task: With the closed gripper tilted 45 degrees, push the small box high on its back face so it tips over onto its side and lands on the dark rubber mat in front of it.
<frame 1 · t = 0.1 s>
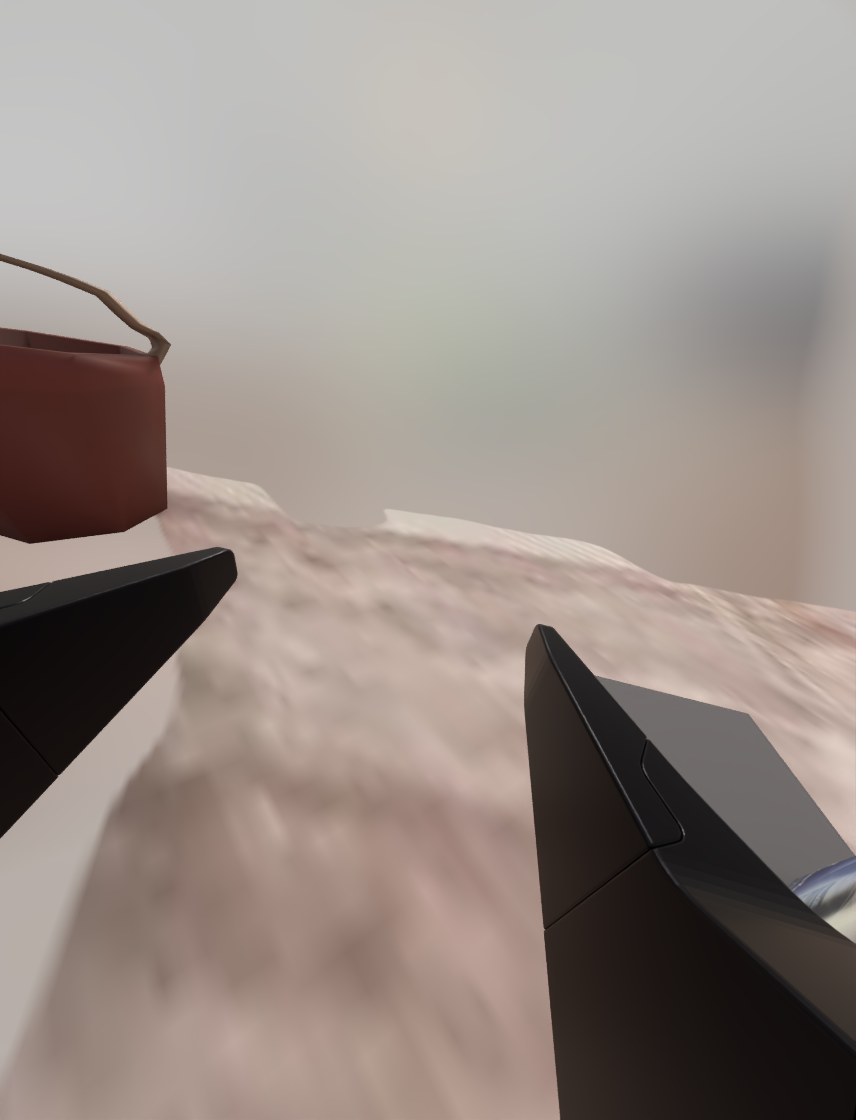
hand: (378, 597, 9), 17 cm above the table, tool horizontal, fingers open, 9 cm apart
bucket: (83, 513, 41), on the table
dark rubber mat: (692, 765, 24), on the table
small box: (817, 1012, 15), on the table, touching dark rubber mat
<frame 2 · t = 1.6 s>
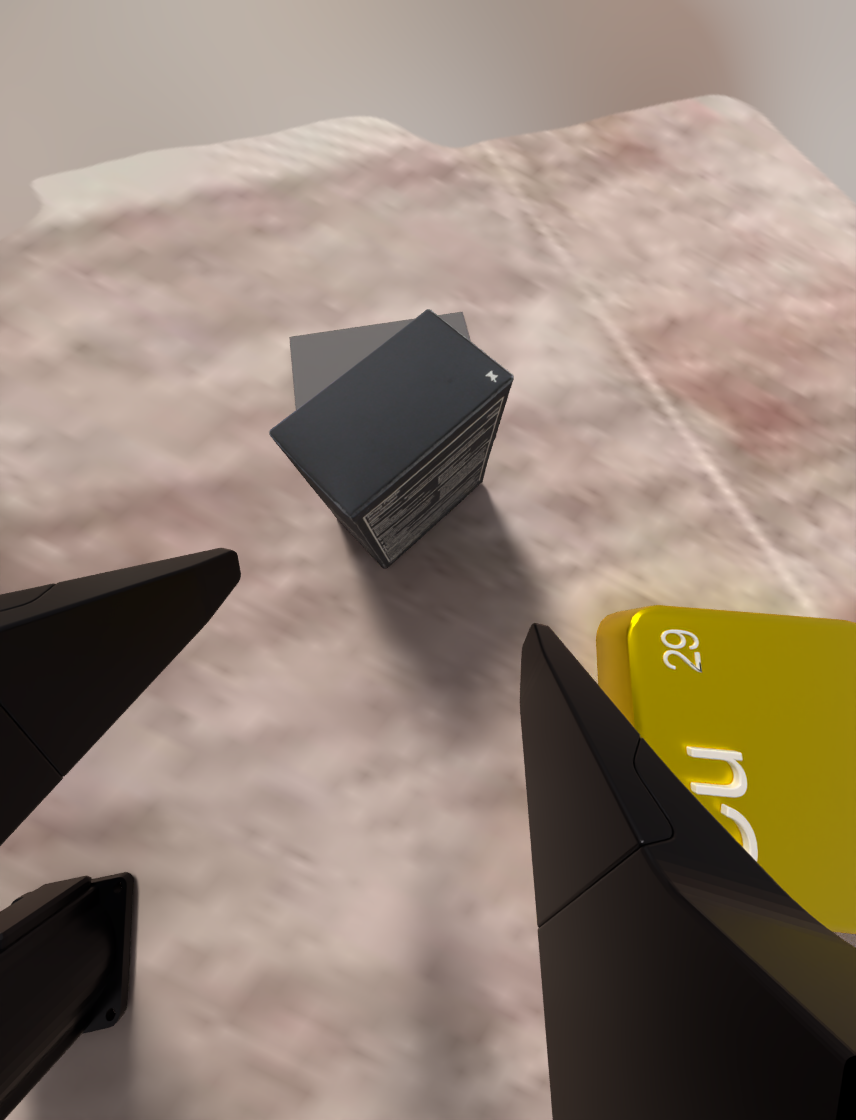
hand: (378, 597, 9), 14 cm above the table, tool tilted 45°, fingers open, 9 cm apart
dark rubber mat: (387, 384, 28), on the table
element tile: (709, 732, 21), on the table
small box: (408, 497, 25), on the table, touching dark rubber mat
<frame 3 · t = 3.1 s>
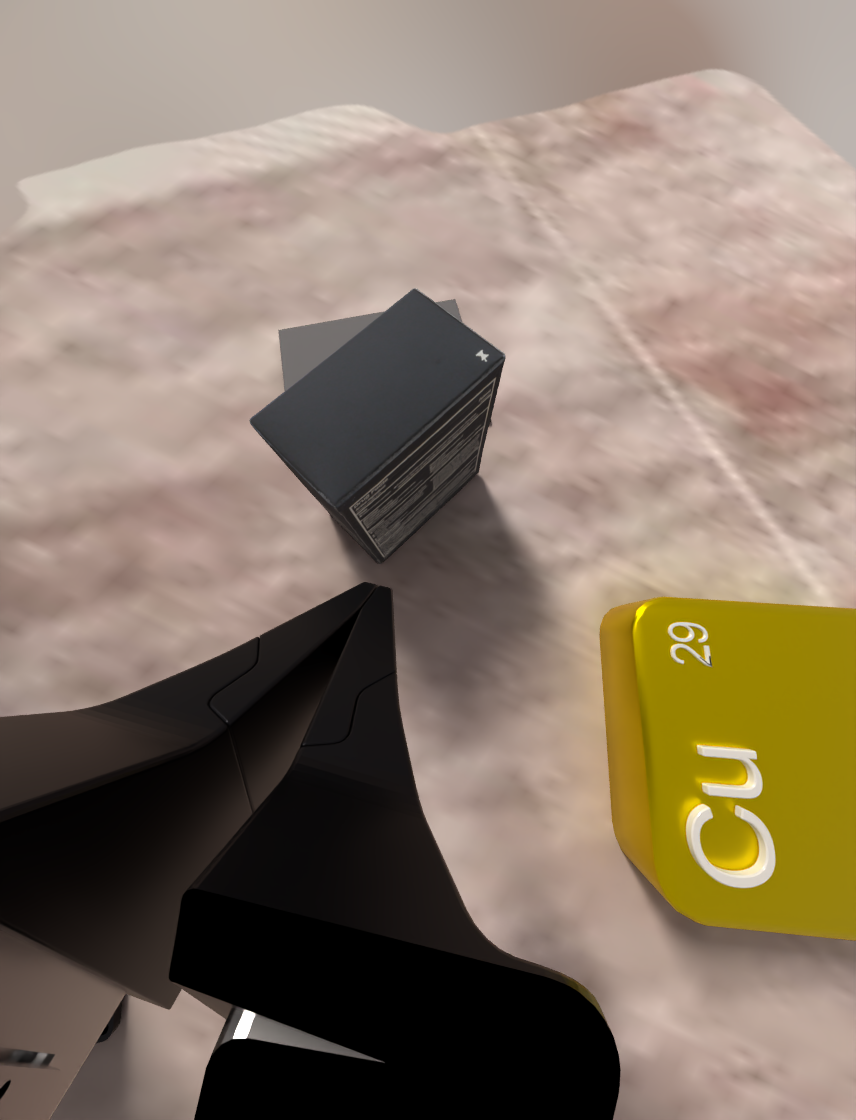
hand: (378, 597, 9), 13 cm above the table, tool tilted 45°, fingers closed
dark rubber mat: (379, 375, 27), on the table
element tile: (720, 729, 20), on the table
small box: (402, 490, 24), on the table, touching dark rubber mat
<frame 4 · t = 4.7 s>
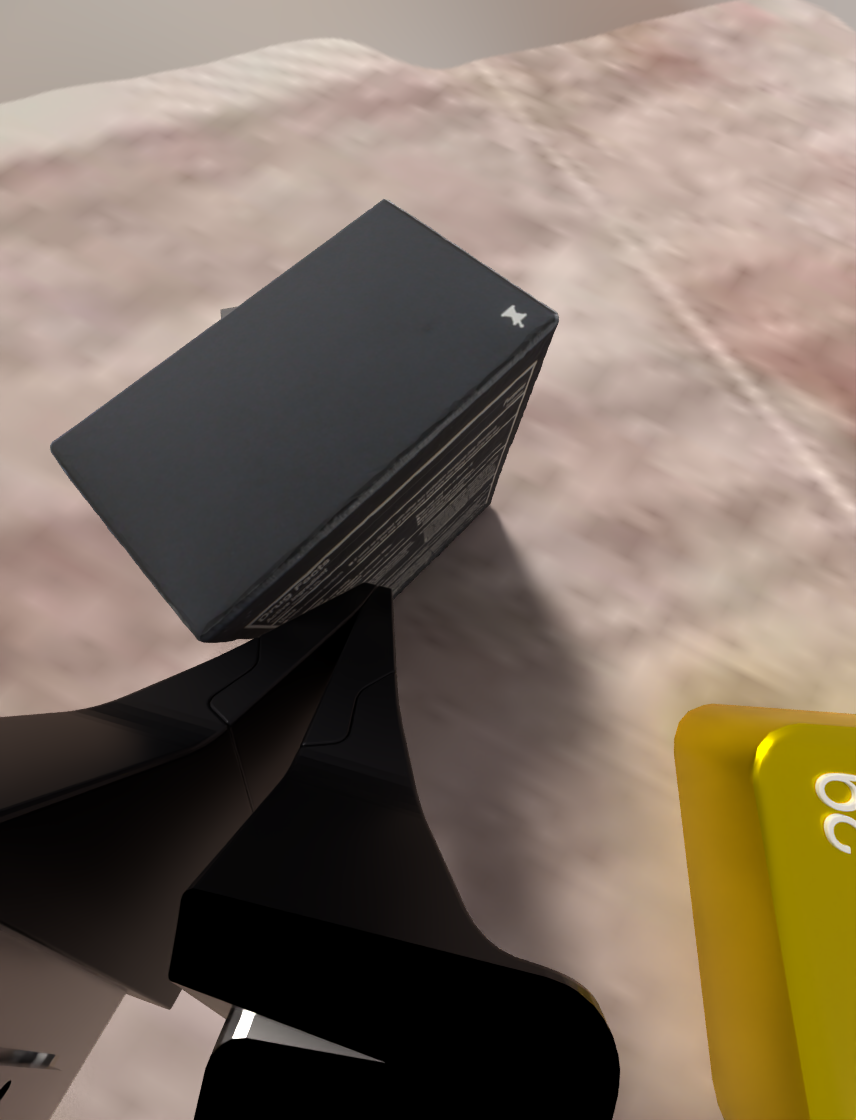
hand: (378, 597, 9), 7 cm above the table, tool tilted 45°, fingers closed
small box: (383, 529, 17), on the table, touching dark rubber mat, gripper
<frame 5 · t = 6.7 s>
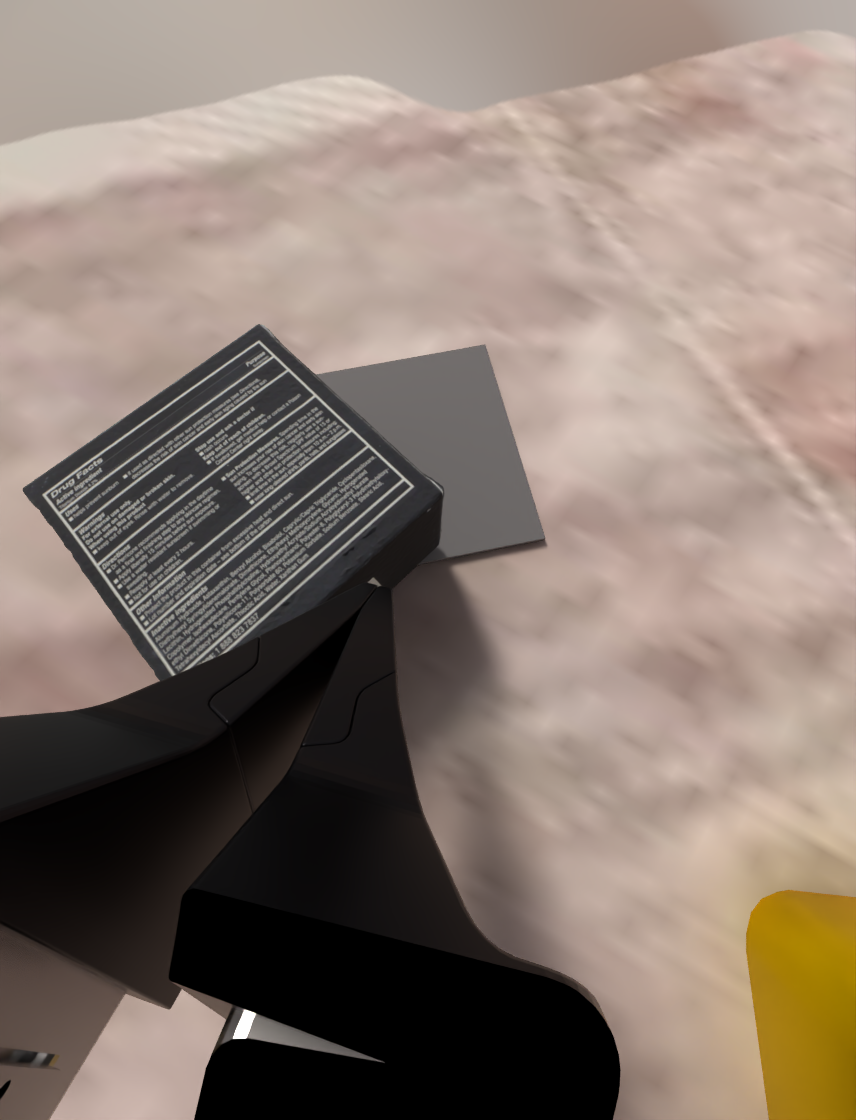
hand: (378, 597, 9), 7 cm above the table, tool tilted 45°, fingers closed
dark rubber mat: (375, 461, 18), on the table
small box: (356, 614, 13), point 3 cm above the table, touching dark rubber mat
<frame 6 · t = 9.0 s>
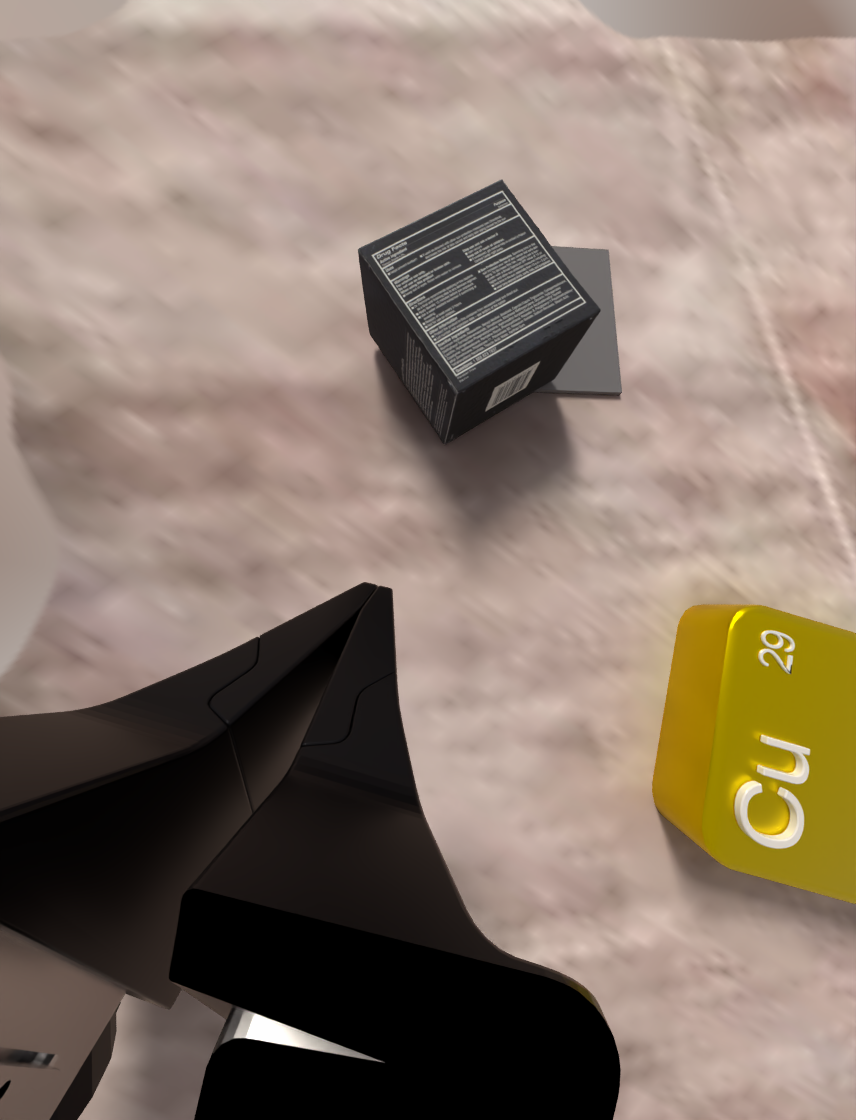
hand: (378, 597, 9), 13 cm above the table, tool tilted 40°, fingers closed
dark rubber mat: (516, 317, 26), on the table
element tile: (756, 727, 23), on the table
small box: (516, 390, 21), point 3 cm above the table, touching dark rubber mat
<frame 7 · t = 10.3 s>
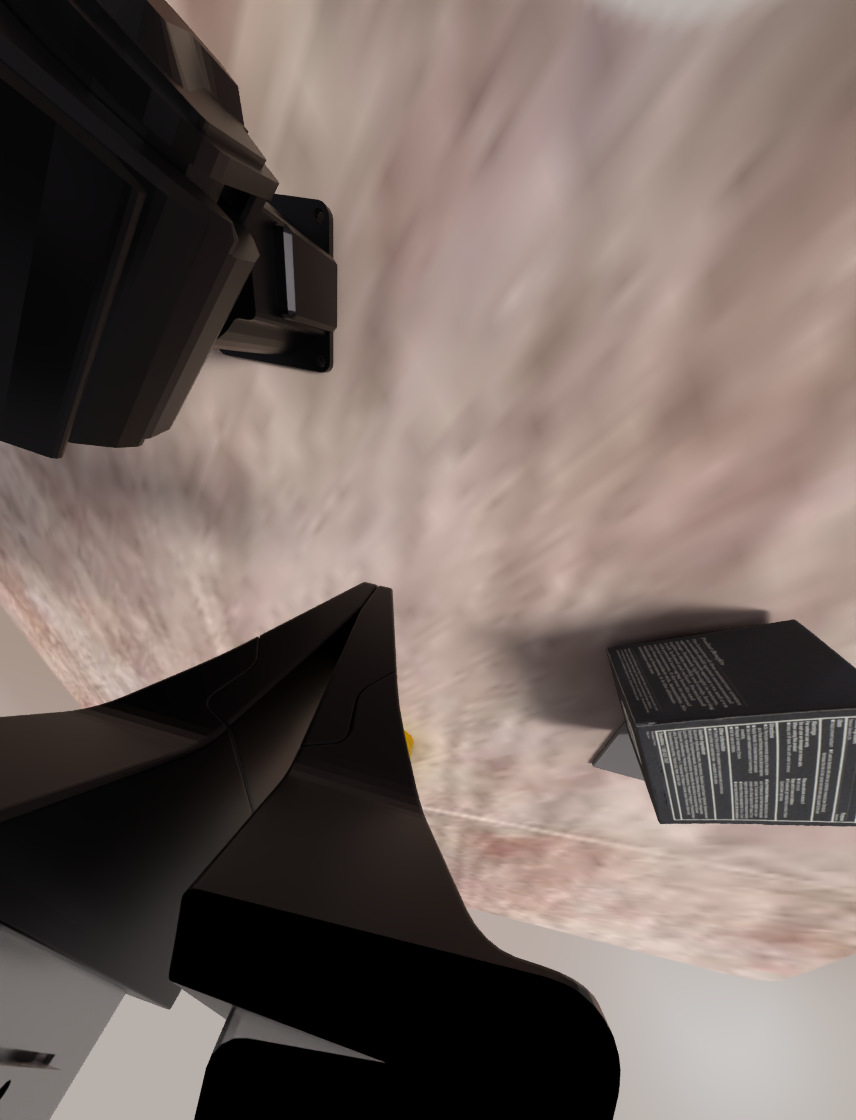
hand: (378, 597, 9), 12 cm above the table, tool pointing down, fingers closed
dark rubber mat: (718, 732, 25), on the table
small box: (626, 731, 22), point 3 cm above the table, touching dark rubber mat
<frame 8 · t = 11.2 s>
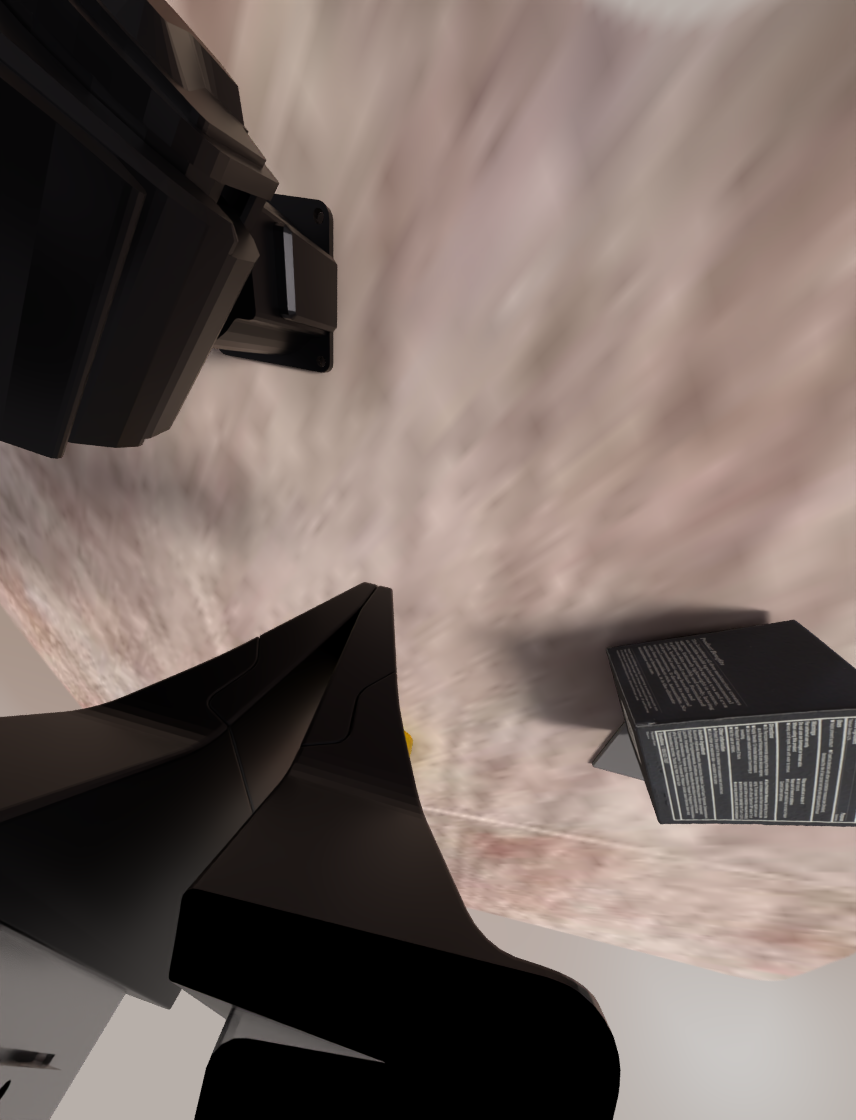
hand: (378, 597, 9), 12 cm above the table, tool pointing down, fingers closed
dark rubber mat: (717, 732, 25), on the table
small box: (626, 732, 22), point 3 cm above the table, touching dark rubber mat
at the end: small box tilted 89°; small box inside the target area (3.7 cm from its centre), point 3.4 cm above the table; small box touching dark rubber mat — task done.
